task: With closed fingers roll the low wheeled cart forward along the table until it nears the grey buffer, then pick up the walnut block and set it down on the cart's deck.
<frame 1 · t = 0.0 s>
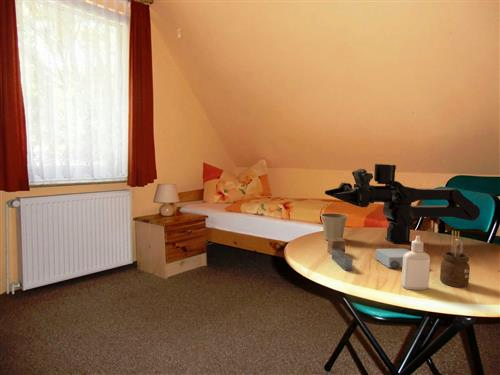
hand: (329, 194, 117), 17 cm above the table, tool horizontal, fingers open, 9 cm apart
cart: (397, 257, 97), point 2 cm above the table, slide at 0.0 cm
block: (336, 253, 106), on the table
utensil holder: (453, 283, 83), on the table
eye dropper bottle: (414, 288, 80), on the table
buffer: (341, 264, 96), on the table
flower pot: (333, 240, 123), on the table
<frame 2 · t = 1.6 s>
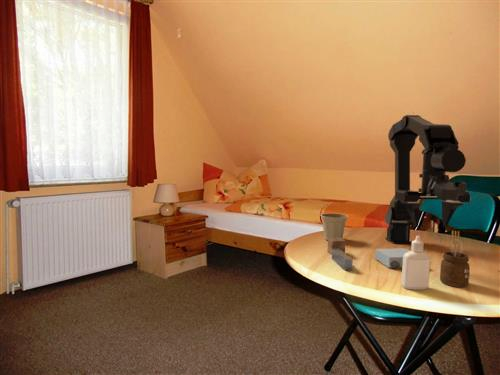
hand: (430, 226, 97), 10 cm above the table, tool pointing down, fingers open, 8 cm apart
nothing on the table moved.
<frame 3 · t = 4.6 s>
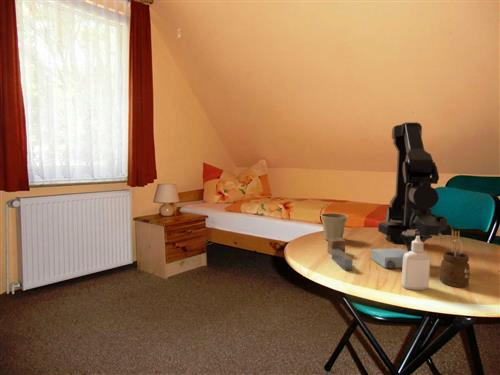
hand: (412, 258, 98), 1 cm above the table, tool pointing down, fingers closed
cart: (393, 257, 97), point 2 cm above the table, slide at 1.2 cm, touching gripper
everything else where it was.
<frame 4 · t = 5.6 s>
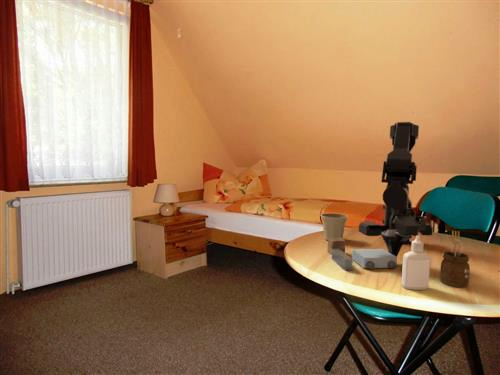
hand: (393, 258, 97), 1 cm above the table, tool pointing down, fingers closed
cart: (373, 258, 97), point 2 cm above the table, slide at 6.9 cm, touching gripper
everything else where it was.
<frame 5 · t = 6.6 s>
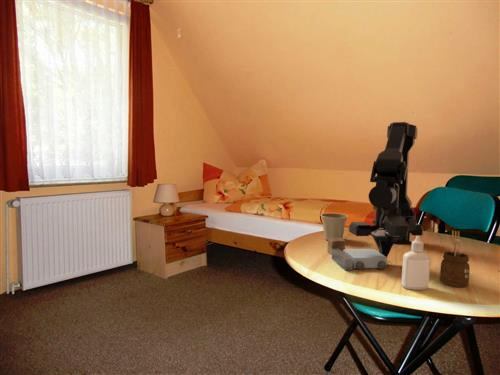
hand: (383, 259, 97), 1 cm above the table, tool pointing down, fingers closed
cart: (363, 258, 96), point 2 cm above the table, slide at 9.7 cm, touching gripper
everything else where it was.
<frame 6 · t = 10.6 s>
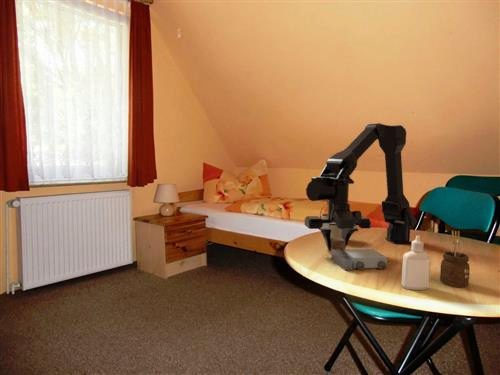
hand: (336, 250, 106), 1 cm above the table, tool pointing down, fingers closed on block, 4 cm apart
cart: (363, 258, 96), point 2 cm above the table, slide at 9.7 cm
block: (336, 253, 106), on the table, touching gripper
everything else where it was.
when the fingers open (5 cm above the table, at t = 13.7 s): block drops 1 cm, resting on cart.
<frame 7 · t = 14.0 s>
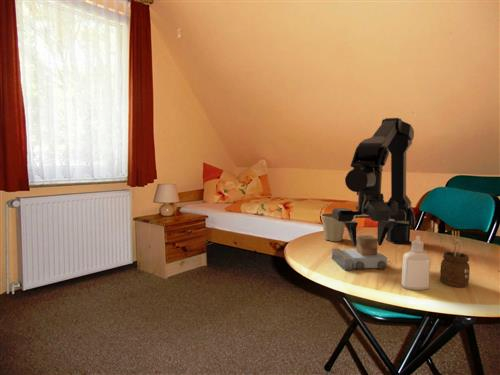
hand: (367, 245, 96), 5 cm above the table, tool pointing down, fingers open, 7 cm apart
cart: (363, 258, 96), point 2 cm above the table, slide at 9.7 cm, touching block
block: (366, 253, 96), point 3 cm above the table, touching cart
everything else where it was.
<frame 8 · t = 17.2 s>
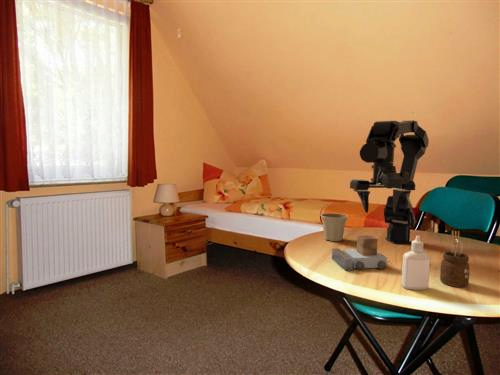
hand: (380, 212, 109), 12 cm above the table, tool pointing down, fingers open, 9 cm apart
nothing on the table moved.
at the end: cart slide at 9.7 cm; block inside the target area on the cart (0.7 cm from its centre), point 3.0 cm above the cart's base; the gripper is holding nothing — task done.
